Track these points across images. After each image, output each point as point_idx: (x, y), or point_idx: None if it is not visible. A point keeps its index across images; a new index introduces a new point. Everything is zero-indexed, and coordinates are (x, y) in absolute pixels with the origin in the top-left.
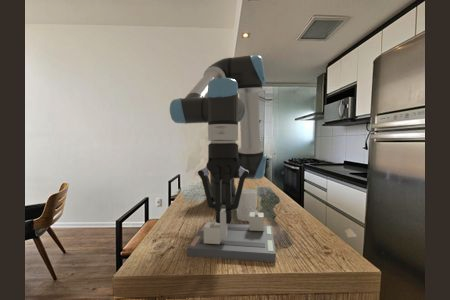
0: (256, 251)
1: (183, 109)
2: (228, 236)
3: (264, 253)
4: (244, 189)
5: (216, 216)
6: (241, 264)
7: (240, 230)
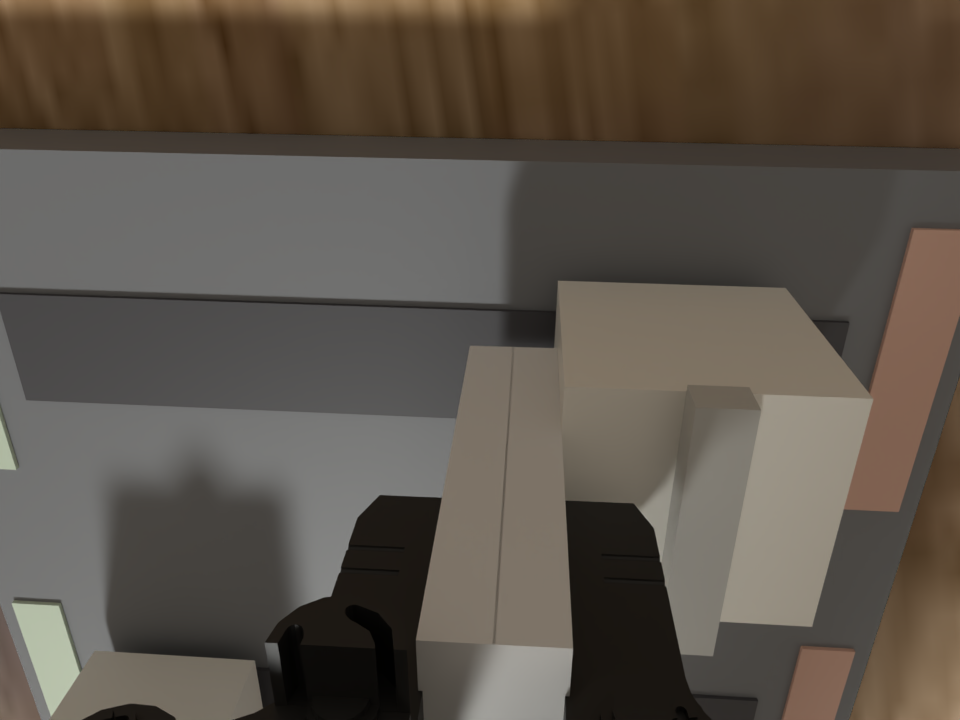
0: (69, 175)
1: None
2: None
3: None
4: None
5: (654, 596)
6: (267, 30)
7: None
